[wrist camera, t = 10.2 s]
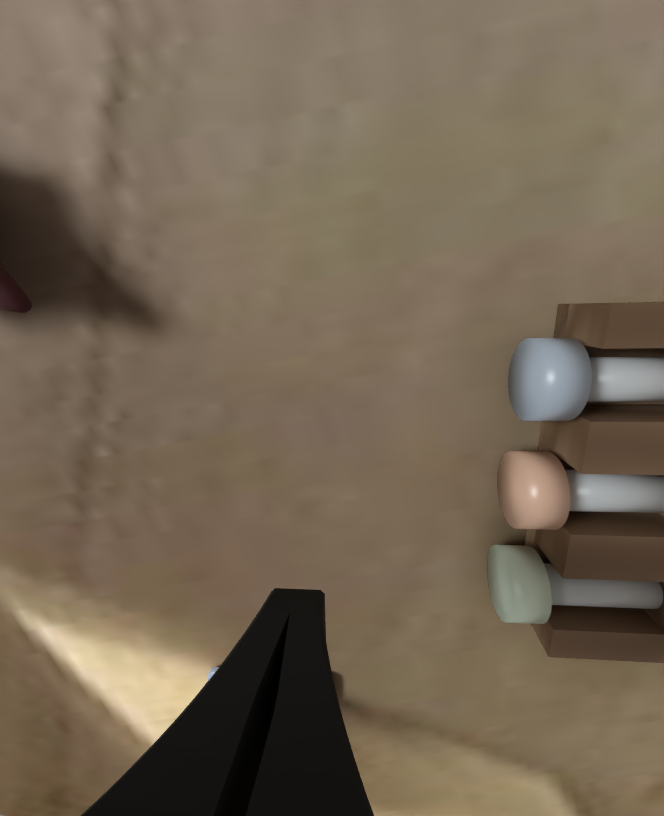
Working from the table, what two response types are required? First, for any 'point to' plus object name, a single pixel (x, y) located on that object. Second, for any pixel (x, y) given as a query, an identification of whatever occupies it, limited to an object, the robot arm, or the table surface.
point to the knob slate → (576, 379)
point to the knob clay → (567, 491)
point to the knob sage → (554, 587)
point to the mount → (607, 531)
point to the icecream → (12, 294)
